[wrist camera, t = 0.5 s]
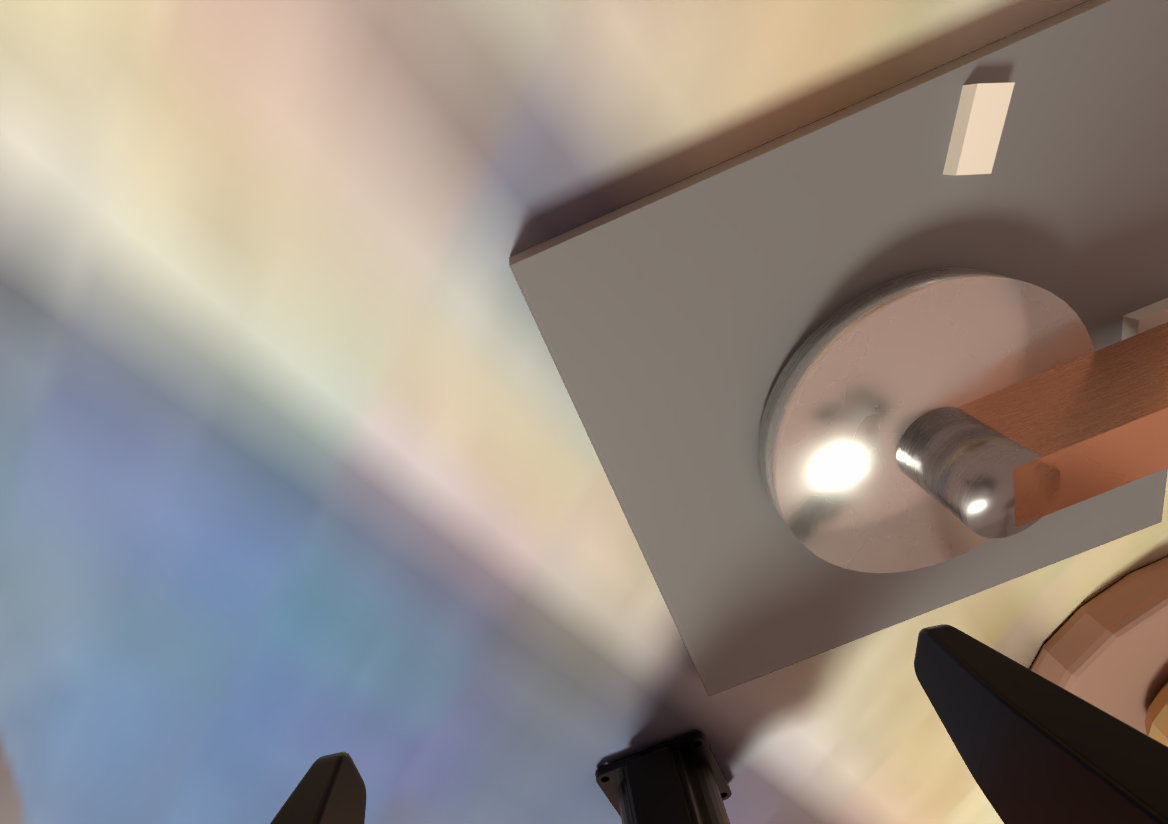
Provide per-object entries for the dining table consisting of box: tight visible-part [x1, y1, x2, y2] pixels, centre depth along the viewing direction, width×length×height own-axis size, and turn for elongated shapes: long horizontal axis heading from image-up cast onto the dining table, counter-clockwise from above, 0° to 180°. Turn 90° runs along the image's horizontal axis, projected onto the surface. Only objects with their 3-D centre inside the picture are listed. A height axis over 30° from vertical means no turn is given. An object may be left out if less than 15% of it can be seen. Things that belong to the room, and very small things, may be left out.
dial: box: [757, 267, 1168, 573], centre depth 19 cm, size 17×12×5 cm
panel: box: [509, 0, 1168, 696], centre depth 23 cm, size 23×23×2 cm
